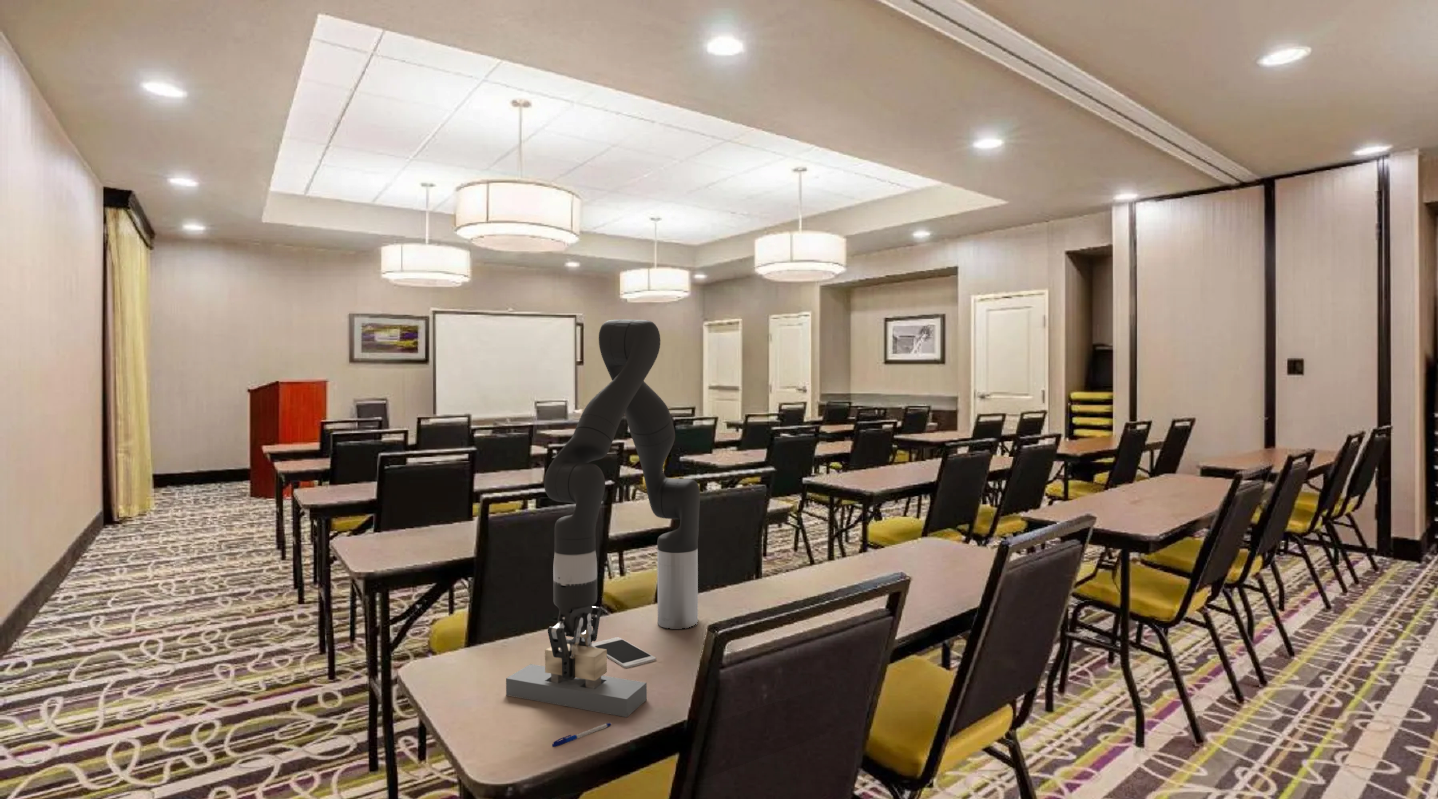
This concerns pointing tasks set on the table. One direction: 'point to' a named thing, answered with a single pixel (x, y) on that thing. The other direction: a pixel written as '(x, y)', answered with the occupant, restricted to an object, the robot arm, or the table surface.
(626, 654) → the smartphone
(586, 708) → the slotted rail
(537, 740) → the table surface
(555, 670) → the tan rectangular block
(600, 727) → the ballpoint pen
